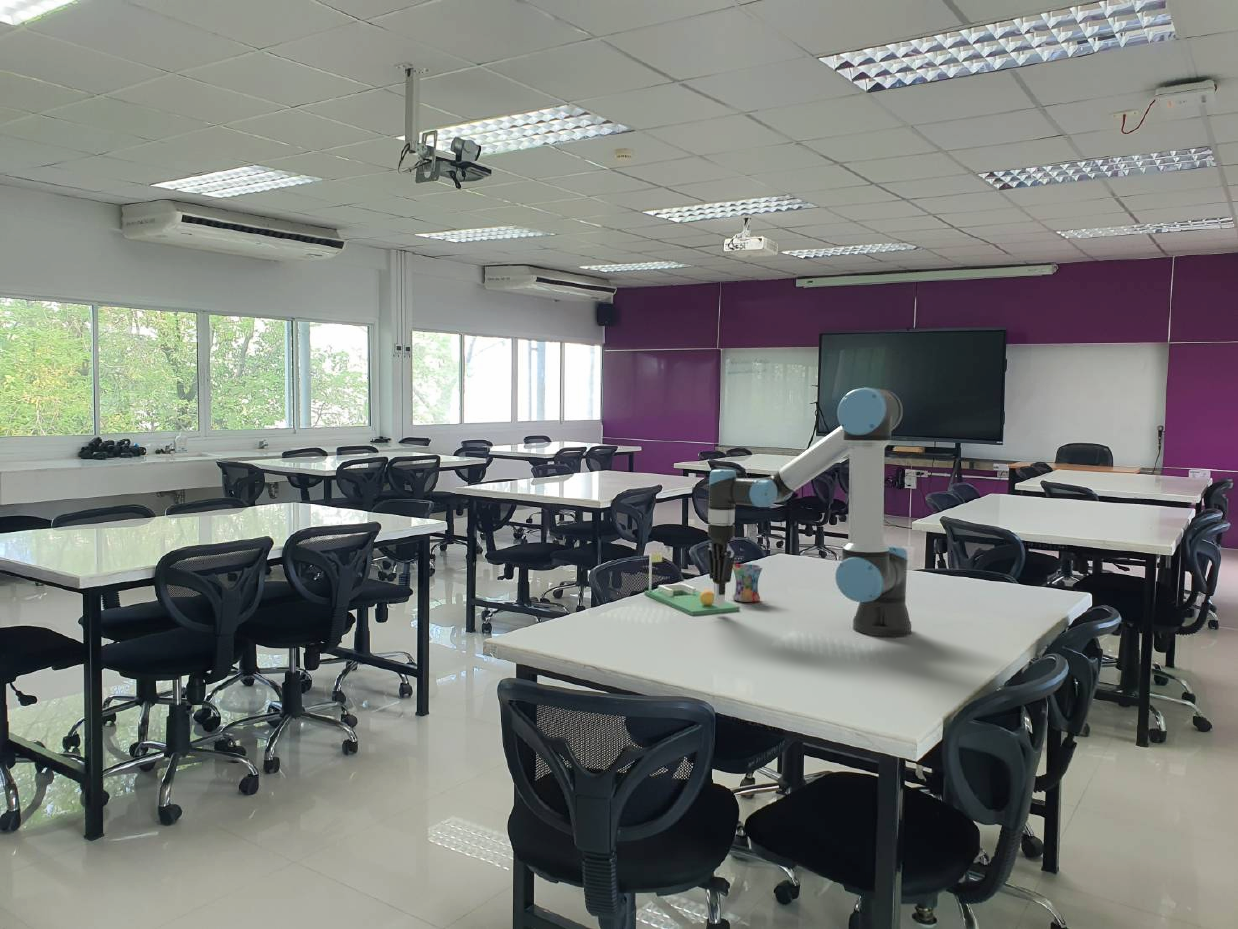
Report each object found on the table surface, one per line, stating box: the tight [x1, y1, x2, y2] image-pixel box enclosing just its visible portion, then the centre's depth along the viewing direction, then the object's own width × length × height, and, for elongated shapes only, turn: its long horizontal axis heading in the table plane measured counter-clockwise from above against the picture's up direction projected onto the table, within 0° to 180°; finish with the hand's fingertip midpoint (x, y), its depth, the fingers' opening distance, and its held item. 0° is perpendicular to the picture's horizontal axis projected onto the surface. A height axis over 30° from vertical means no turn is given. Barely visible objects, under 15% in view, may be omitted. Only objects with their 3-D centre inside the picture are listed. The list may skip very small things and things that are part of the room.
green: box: [644, 552, 741, 616], centre depth 263 cm, size 30×16×13 cm, turn 25°
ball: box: [700, 589, 714, 606], centre depth 254 cm, size 4×4×4 cm
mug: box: [732, 563, 763, 603], centre depth 269 cm, size 12×9×11 cm
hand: (719, 605), depth 248 cm, fingers closed
